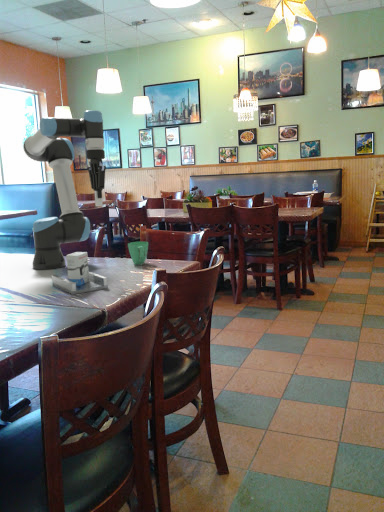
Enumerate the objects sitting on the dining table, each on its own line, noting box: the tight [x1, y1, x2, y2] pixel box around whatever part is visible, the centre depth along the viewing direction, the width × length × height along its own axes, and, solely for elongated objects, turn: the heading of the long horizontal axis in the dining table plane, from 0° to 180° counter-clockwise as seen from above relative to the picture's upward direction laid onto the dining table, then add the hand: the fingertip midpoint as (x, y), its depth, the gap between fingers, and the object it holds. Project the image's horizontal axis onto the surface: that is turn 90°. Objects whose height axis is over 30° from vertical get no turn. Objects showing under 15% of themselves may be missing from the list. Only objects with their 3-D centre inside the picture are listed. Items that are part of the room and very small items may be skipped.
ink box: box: [65, 251, 90, 286], centre depth 171 cm, size 8×5×12 cm, turn 166°
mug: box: [127, 241, 149, 266], centre depth 212 cm, size 15×10×10 cm
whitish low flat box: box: [51, 271, 109, 295], centre depth 172 cm, size 20×14×4 cm
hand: (99, 206), depth 190 cm, fingers closed
